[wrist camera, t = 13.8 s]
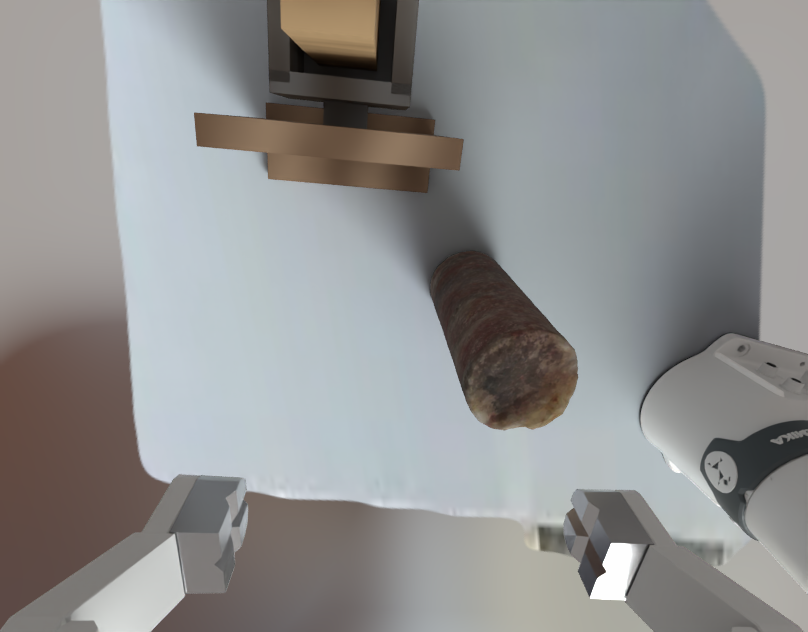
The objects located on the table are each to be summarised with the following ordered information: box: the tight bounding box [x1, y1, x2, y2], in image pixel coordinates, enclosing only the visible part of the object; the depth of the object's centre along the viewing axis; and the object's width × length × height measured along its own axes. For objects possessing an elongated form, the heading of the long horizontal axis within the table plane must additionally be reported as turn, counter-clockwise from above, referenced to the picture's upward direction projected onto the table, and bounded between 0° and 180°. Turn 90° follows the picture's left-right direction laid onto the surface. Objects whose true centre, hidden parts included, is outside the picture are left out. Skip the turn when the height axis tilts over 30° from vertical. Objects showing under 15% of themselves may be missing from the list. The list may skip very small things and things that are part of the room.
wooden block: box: [280, 0, 381, 71], centre depth 24 cm, size 4×4×12 cm
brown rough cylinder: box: [430, 251, 578, 430], centre depth 35 cm, size 8×7×20 cm
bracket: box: [194, 0, 464, 193], centre depth 29 cm, size 14×15×16 cm
